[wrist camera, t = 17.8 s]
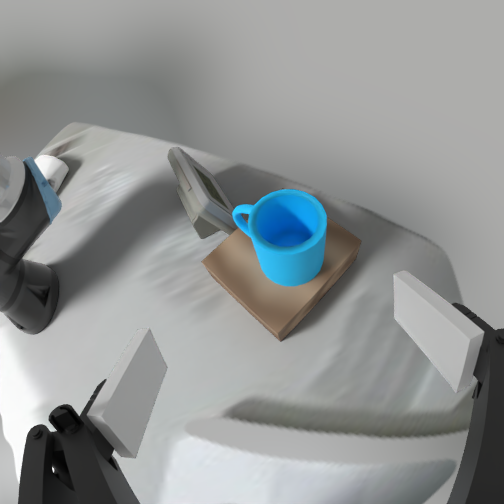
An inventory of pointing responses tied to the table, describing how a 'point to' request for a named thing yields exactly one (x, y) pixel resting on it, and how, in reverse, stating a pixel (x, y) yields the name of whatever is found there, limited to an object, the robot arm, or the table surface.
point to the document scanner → (52, 170)
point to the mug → (286, 235)
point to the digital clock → (201, 196)
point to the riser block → (269, 293)
